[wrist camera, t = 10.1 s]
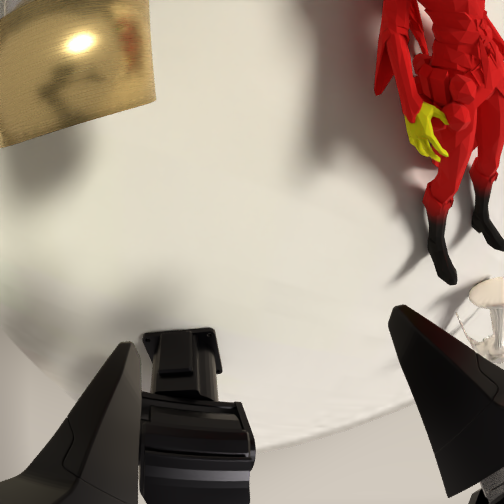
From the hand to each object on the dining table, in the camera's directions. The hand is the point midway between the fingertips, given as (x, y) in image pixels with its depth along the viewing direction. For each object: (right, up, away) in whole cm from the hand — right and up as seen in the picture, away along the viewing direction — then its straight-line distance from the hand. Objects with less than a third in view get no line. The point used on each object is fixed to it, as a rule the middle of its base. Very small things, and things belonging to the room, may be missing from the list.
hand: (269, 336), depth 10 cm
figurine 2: (+27, -2, +20) cm, 34 cm away
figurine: (+12, +15, +7) cm, 20 cm away
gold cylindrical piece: (-7, +12, -1) cm, 14 cm away
